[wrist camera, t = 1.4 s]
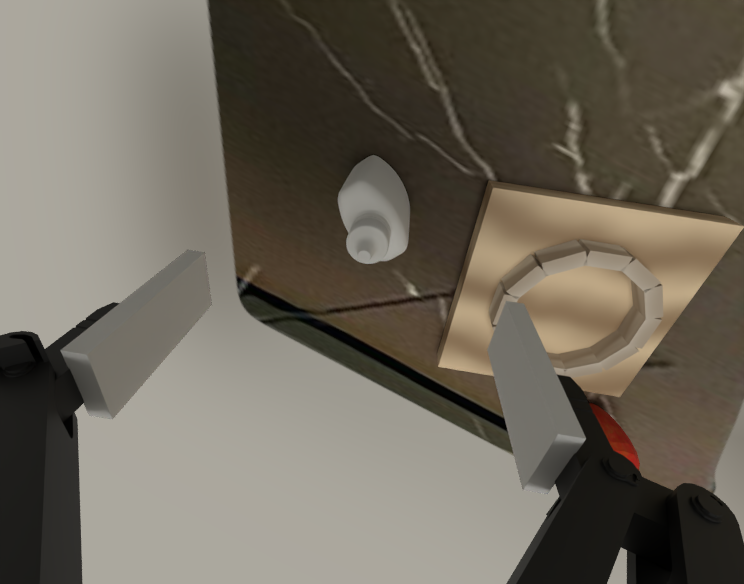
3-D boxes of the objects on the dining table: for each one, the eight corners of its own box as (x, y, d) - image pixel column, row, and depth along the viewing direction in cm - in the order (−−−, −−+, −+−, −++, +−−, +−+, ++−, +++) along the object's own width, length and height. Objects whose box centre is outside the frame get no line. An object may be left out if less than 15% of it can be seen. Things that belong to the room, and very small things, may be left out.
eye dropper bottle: (359, 223, 31) (330, 301, 21) (352, 154, 28) (315, 206, 18) (410, 221, 30) (406, 300, 20) (408, 151, 27) (403, 202, 17)
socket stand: (488, 180, 28) (498, 196, 25) (724, 216, 27) (767, 237, 24) (437, 353, 38) (439, 381, 34) (610, 381, 37) (629, 413, 34)
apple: (560, 388, 38) (588, 452, 32) (620, 395, 38) (661, 461, 32) (542, 426, 42) (564, 490, 36) (597, 433, 42) (629, 499, 35)
